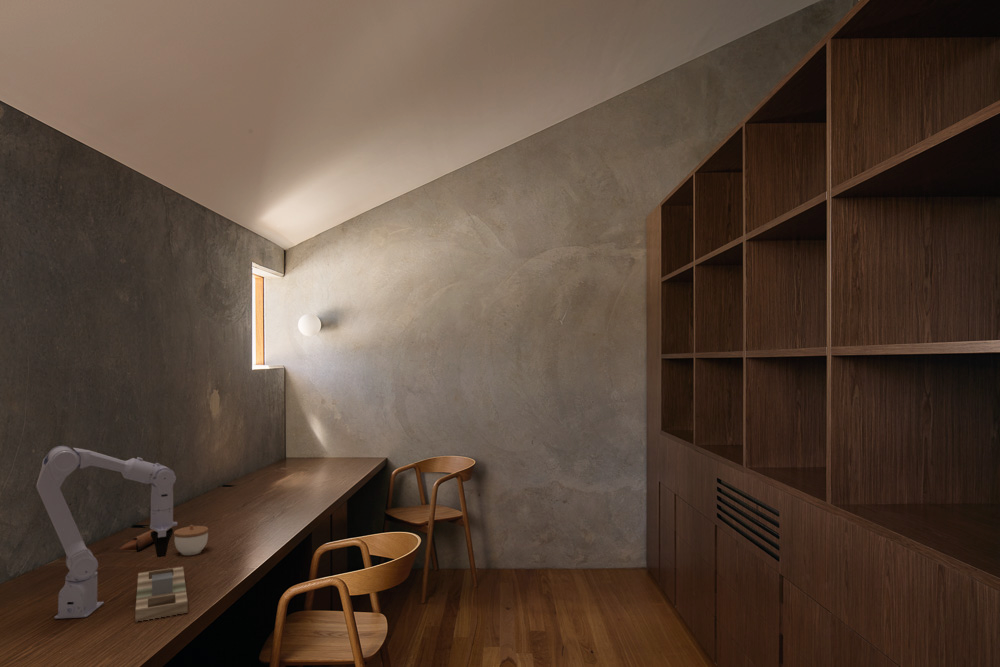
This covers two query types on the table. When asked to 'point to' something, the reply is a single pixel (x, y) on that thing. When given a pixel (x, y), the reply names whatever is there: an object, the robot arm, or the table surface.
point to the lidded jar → (191, 539)
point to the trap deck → (160, 596)
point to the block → (162, 583)
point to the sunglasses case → (139, 542)
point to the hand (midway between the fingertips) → (161, 556)
